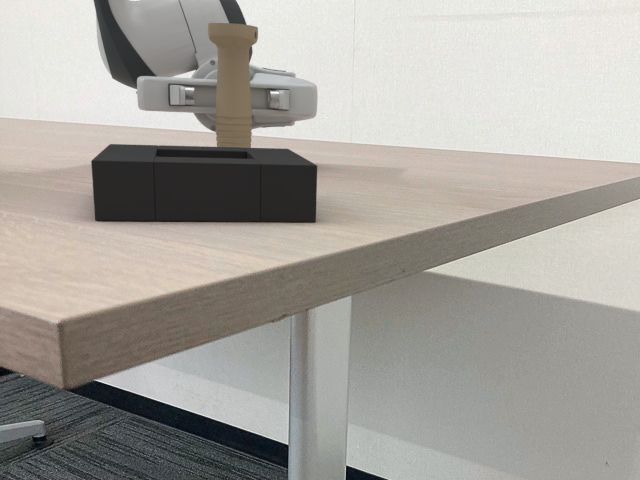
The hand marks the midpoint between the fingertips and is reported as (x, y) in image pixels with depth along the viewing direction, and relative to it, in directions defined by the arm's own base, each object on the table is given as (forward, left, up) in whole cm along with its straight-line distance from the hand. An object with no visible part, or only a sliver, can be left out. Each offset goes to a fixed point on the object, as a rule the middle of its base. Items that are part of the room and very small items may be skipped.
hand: (232, 97), depth 82 cm
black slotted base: (-4, -24, -8) cm, 26 cm away
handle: (0, +1, -8) cm, 8 cm away
